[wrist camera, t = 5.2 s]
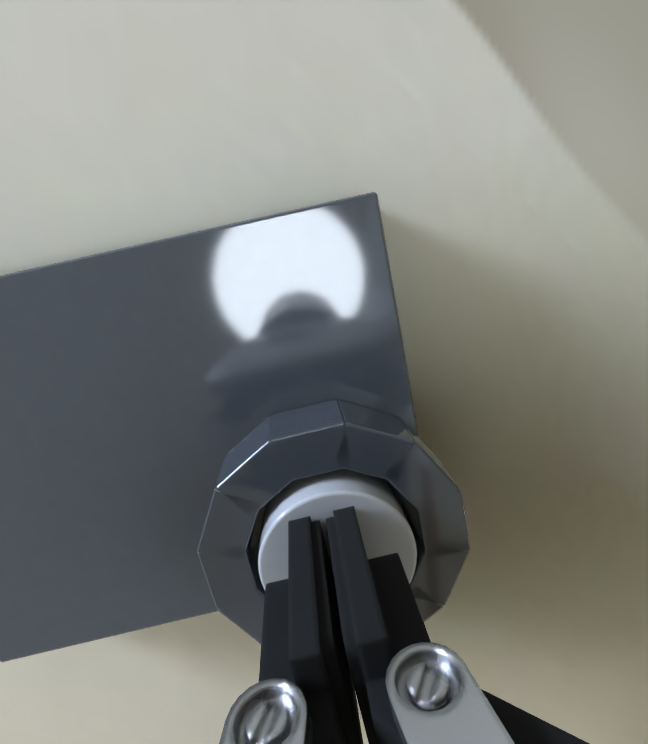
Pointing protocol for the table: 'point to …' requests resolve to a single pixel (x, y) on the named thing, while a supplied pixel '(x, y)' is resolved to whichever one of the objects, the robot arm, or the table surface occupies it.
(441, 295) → the table surface
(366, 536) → the flush button
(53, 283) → the plate
